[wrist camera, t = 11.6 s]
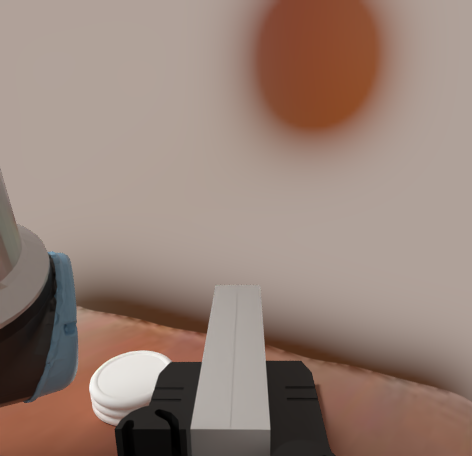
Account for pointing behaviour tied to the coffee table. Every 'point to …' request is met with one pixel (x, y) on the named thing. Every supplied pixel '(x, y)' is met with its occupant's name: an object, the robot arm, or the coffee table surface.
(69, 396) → the coffee table surface
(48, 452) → the coffee table surface
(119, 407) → the coaster
